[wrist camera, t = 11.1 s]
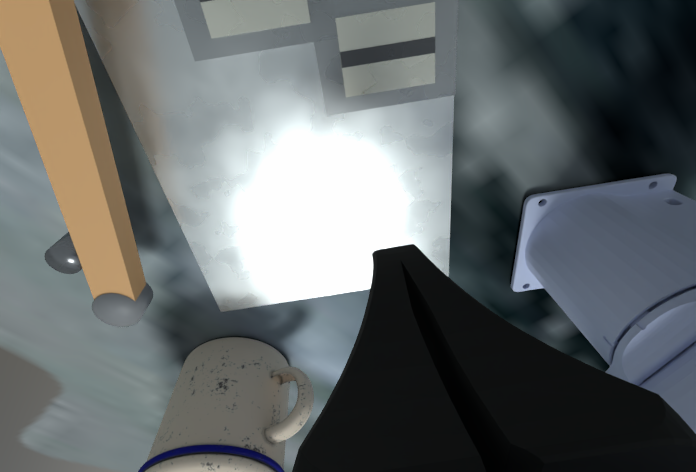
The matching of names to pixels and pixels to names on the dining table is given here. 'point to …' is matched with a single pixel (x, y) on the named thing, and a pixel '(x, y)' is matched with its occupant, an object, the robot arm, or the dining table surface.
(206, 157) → the base plate
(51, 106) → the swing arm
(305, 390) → the teacup with lid
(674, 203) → the robot arm
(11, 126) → the dining table surface
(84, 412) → the dining table surface
